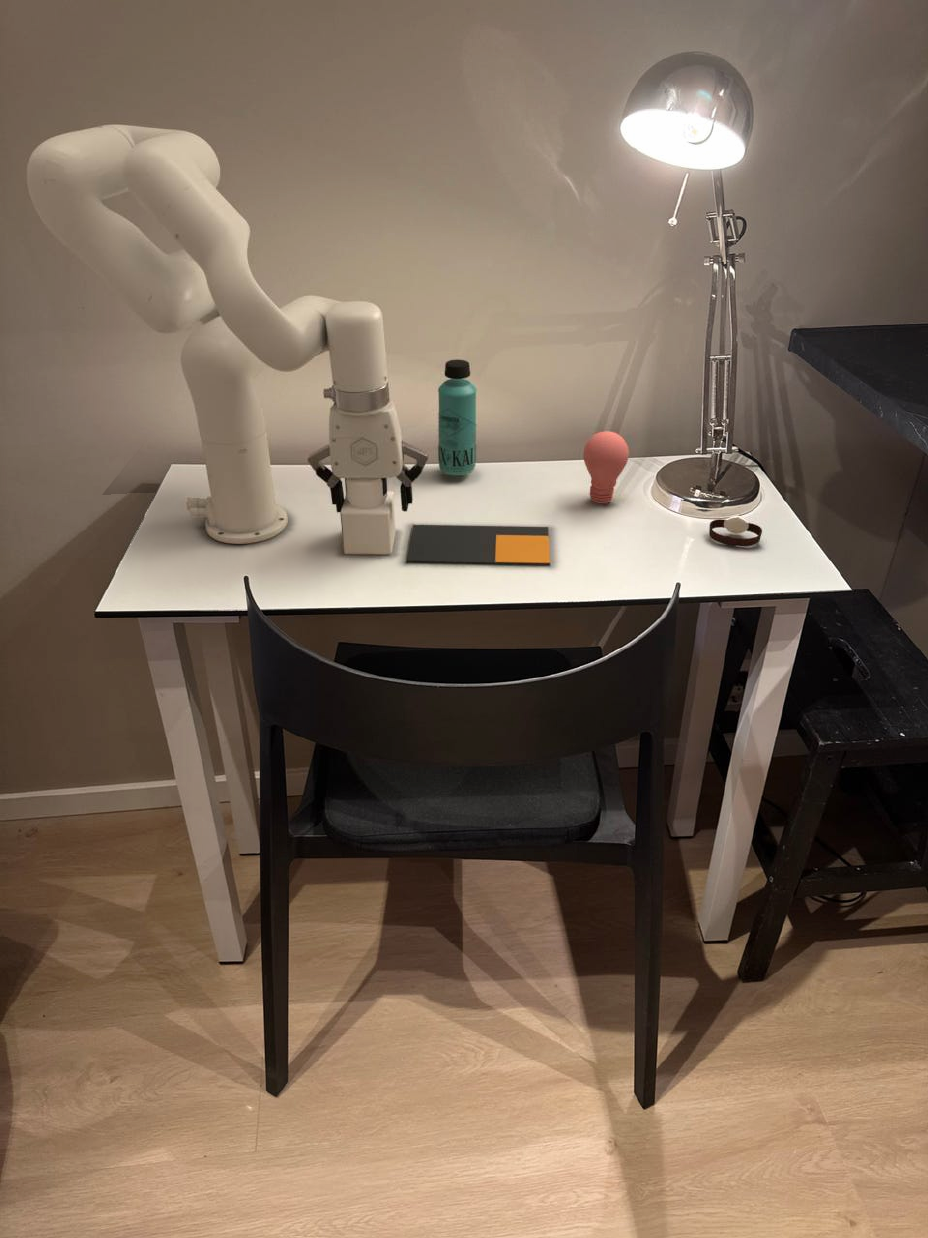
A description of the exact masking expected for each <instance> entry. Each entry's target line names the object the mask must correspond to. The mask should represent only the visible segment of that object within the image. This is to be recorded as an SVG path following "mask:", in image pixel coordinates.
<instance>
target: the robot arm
mask: <svg viewBox="0 0 928 1238" xmlns="http://www.w3.org/2000/svg"><path fill="white" fill-rule="evenodd" d="M220 180H221V165H220V162H219V159H218V157H217V155H216V152H215V151H214V149H213V148H212V146H211V145H210V144H209V143H208V142H207V141H206V140H205V139H204V138H202V137H201V136H199V135H197V134H195V133H193V132H190V131H187V130H180V129H171V128H157V127H147V126H140V125H139V126H138V125H128V124H104V125H98V126H95V127H94V126H93V127H90V128H85V129H80V130H74V131H69V132H64V133H61V134H58V135H56V136H53V137H50V138H48V139H46V140H44V141H43V142H41V143H40V144H39V145H37V147H36V148H35V149H34V150H33V151H32V153H31V154H30V157H29V159H28V162H27V165H26V183H27V190H28V194H29V198H30V200H31V202H32V205H33V208H34V209H35V212H36V214H37V215H38V217H39V219H40V220H41V222H42V223H43V225H44V226H45V227H46V228H47V229H48V231H49V232H50V233H51V234H52V235H53V236H54V237H55V239H57V240H58V242H60V243H61V244H62V245H63V246H64V247H66V248H67V249H68V250H69V251H70V252H71V253H73V254H74V255H75V256H76V257H77V258H78V259H80V260H81V261H82V262H83V263H84V264H85V265H87V267H88V268H89V269H91V270H92V271H93V272H94V273H95V274H96V276H97V277H99V279H101V280H102V282H103V283H104V284H105V285H106V286H107V287H108V288H109V289H110V290H111V291H112V292H113V293H114V294H115V295H116V296H117V297H119V299H120V300H121V301H122V302H123V303H124V304H125V305H126V306H127V307H129V309H131V311H132V312H133V313H134V314H135V315H137V317H139V319H141V320H142V321H143V322H144V324H146V325H147V326H148V327H150V328H151V329H152V330H154V331H156V332H158V333H161V334H174V333H177V332H180V331H181V330H184V329H186V328H187V327H189V326H191V325H193V324H194V323H196V322H199V323H201V324H202V325H201V326H199V327H198V328H196V329H195V330H194V331H193V332H192V333H191V334H190V335H189V336H188V337H187V339H186V341H185V342H184V344H183V347H182V349H181V355H180V365H181V371H182V374H183V377H184V380H185V383H186V385H187V388H188V391H189V393H190V396H191V399H192V403H193V407H194V410H195V415H196V420H197V425H198V433H199V436H200V441H201V446H202V447H201V448H202V452H203V458H204V465H205V471H206V475H207V481H208V488H209V494H210V496H207V497H206V498H199V497H187V499H186V502H185V507H186V510H187V511H189V515H190V517H205V518H206V519H205V522H204V525H205V531H206V533H207V534H208V536H209V537H210V538H212V539H213V540H216V541H218V542H221V543H225V544H231V545H232V544H234V545H245V544H253V543H258V542H263V541H266V540H269V539H271V538H274V537H275V536H277V535H279V534H281V532H283V530H284V529H286V528H287V525H288V523H289V522H288V521H289V519H288V513H287V511H286V509H284V508H283V507H282V506H281V505H279V504H277V503H276V497H275V489H274V482H273V481H274V479H273V473H272V472H273V471H272V466H271V465H272V464H271V458H270V450H269V443H268V433H267V427H266V421H265V414H264V410H263V407H262V404H261V402H260V400H259V397H258V395H257V394H256V391H255V389H254V387H253V386H254V385H253V380H254V379H255V378H256V377H258V375H259V374H260V373H262V372H263V371H265V370H266V369H267V368H271V369H273V370H275V371H279V372H284V373H288V372H295V371H297V370H299V369H301V368H302V367H304V366H305V365H307V364H308V363H310V361H312V360H313V359H315V357H317V356H320V355H321V354H324V353H327V352H328V353H329V362H330V363H329V364H330V370H331V371H330V372H331V379H332V380H331V381H332V386H331V387H328V388H323V392H322V394H323V399H329V400H331V401H332V402H333V404H332V405H331V407H330V408H329V415H328V439H329V440H328V441H329V443H328V444H326V445H324V446H322V447H321V448H319V449H317V450H315V451H313V452H312V453H310V454H309V455H308V458H307V462H308V464H309V465H310V466H311V468H312V469H313V471H314V472H315V475H316V476H317V477H318V478H319V479H321V480H322V481H323V482H324V483H326V486H327V487H328V488H329V491H330V497H331V504H332V505H335V509H336V513H341V509H342V506H343V503H344V499H345V494H344V485H343V480H342V479H345V478H347V479H356V478H387V479H390V478H396V479H397V480H398V481H399V482H400V487H399V491H400V492H399V493H400V504H401V511H402V512H408V508H409V505H410V504H411V505H412V504H413V486H412V485H413V484H412V483H414V482H415V481H416V480H417V479H418V478H419V477H420V475H421V474H423V473H422V472H423V471H424V468H425V467H426V464H427V463H428V460H429V452H427V451H426V450H423V449H421V448H419V447H417V446H415V445H412V444H410V443H407V442H405V441H403V436H402V430H401V429H402V428H401V423H400V419H399V415H398V411H397V407H396V405H395V402H394V401H393V400H391V399H390V388H389V377H388V365H387V351H386V343H385V342H386V341H385V330H384V329H385V328H384V318H383V313H382V311H381V309H380V307H379V306H378V305H376V304H375V303H373V302H370V301H364V300H352V301H351V300H349V301H340V300H335V299H331V298H328V297H325V296H319V295H309V294H308V295H301V296H300V297H297V298H295V299H293V300H292V301H290V302H288V303H287V304H285V305H283V306H282V307H280V308H279V307H278V306H277V304H275V302H273V301H272V299H271V298H270V297H269V296H268V295H267V294H266V293H265V292H264V290H263V289H262V288H261V286H260V285H259V284H258V282H257V280H256V278H255V277H254V276H253V273H252V271H251V268H250V265H249V259H248V247H249V241H250V237H251V227H250V224H249V223H248V221H247V220H246V219H245V218H244V217H243V216H242V215H241V214H240V213H239V212H238V210H236V209H235V208H234V206H232V204H231V203H230V202H229V201H228V200H227V199H226V198H225V197H224V196H223V195H222V193H220V191H219V190H218V189H217V187H218V185H219V183H220ZM125 193H130V194H131V195H132V197H133V198H134V199H135V200H136V201H137V202H138V203H139V204H140V206H142V207H143V209H144V210H145V211H146V212H148V214H149V215H150V216H151V217H152V218H153V219H154V220H155V221H156V222H157V223H158V224H159V225H160V227H162V228H163V229H164V231H165V232H167V234H168V235H169V236H170V237H171V238H172V239H173V240H174V241H175V242H176V243H177V244H178V245H179V246H180V247H181V248H180V249H178V250H175V251H172V252H171V253H165V252H164V251H162V250H161V249H160V248H159V247H157V246H156V244H154V242H152V241H151V240H150V239H149V238H148V237H147V236H146V235H145V234H144V232H143V231H142V230H141V229H140V228H139V227H138V226H137V225H135V224H134V223H133V222H131V221H130V220H129V219H128V218H126V217H124V216H122V215H121V214H119V213H117V212H115V211H113V210H111V209H110V208H108V207H107V206H106V205H104V204H103V202H102V200H106V199H109V198H113V197H116V196H118V195H121V194H125ZM405 456H406V457H410V458H411V459H414V460H415V461H416V462H415V463H414V464H413V466H412V467H410V469H409V468H408V466H407V465H406V464H404V461H405ZM326 458H330V467H331V469H329V467H327V466H326V465H324V464H323V460H324V459H326Z"/></svg>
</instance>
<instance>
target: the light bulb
mask: <svg viewBox="0 0 928 1238" xmlns="http://www.w3.org/2000/svg"><path fill="white" fill-rule="evenodd" d="M582 453H583V454H582V458H583V461H584V462H583V463H584V465H585V467H586V470H587V472H588V474H589V476H590V478H591V479H590V484H591V485H590V487H589V498H590V499H591V501H592V502H595V503H599V504H606V503H609V502H612V501H613V497H614V493H615V487H616V485H617V480H618V477H619V476H620V475H621V474H622V473H623V470H624V469H625V467H626V466H627V463H628V461H629V456H630V449H629V446H628V443H627V442H626V440H625V439H624V438H623V437H622V436H621V435H620V434H618V433H616V432H614V431H608V430H607V431H606V430H605V431H600V432H597V433H595V434H594V435H592V436H591V437H590V438H589V439H588V440H587V441H586V443H585V445H584V447H583V452H582Z"/></svg>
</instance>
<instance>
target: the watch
mask: <svg viewBox="0 0 928 1238" xmlns="http://www.w3.org/2000/svg"><path fill="white" fill-rule="evenodd" d="M708 528H709V529H708V530H709V531H708V534H709V536H710V538H711V539H712V540H713V541H715V542H717V543H719V544H722V545H726V546H730V547H745V548H746V547H752V546H755V545H757V544H758V543H760V541H761V537H762V533H763V529H762V528H761V526H759V525H758V524H755V523H751V522H748V521H747V520H746V519H745V518H744V517H743V516H740V515H732V516H730V517H728V518H727V519H726V518H725V519H722V518H720V519H713V520H712V521H710V522H709V527H708ZM717 528H721V529H722V528H723V529H726V530H727V531H728V532H729V533H732V534H736V535H737V534H742V533H745V532H750V533H753V534H755V535H757V536H753V537H749V538H748V537H747V538H742V537H733V536H731V535H723V534H721V533H718V532H716V531H715V530H713V529H717Z"/></svg>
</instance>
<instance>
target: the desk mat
mask: <svg viewBox="0 0 928 1238" xmlns="http://www.w3.org/2000/svg"><path fill="white" fill-rule="evenodd" d="M406 554H407V555H406V561H405V563H406V564H449V565H451V564H452V565H453V564H454V565H457V564H458V565H461V564H462V565H501V566H502V565H507V566H508V565H509V566H510V565H512V566H551V551H550V534H549V526H515V525H514V526H511V525H510V526H509V525H508V526H507V525H458V524H457V525H451V524H450V525H449V524H448V525H447V524H445V525H444V524H412V529H411V534H410V539H409V544H408V549H407V553H406Z"/></svg>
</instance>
